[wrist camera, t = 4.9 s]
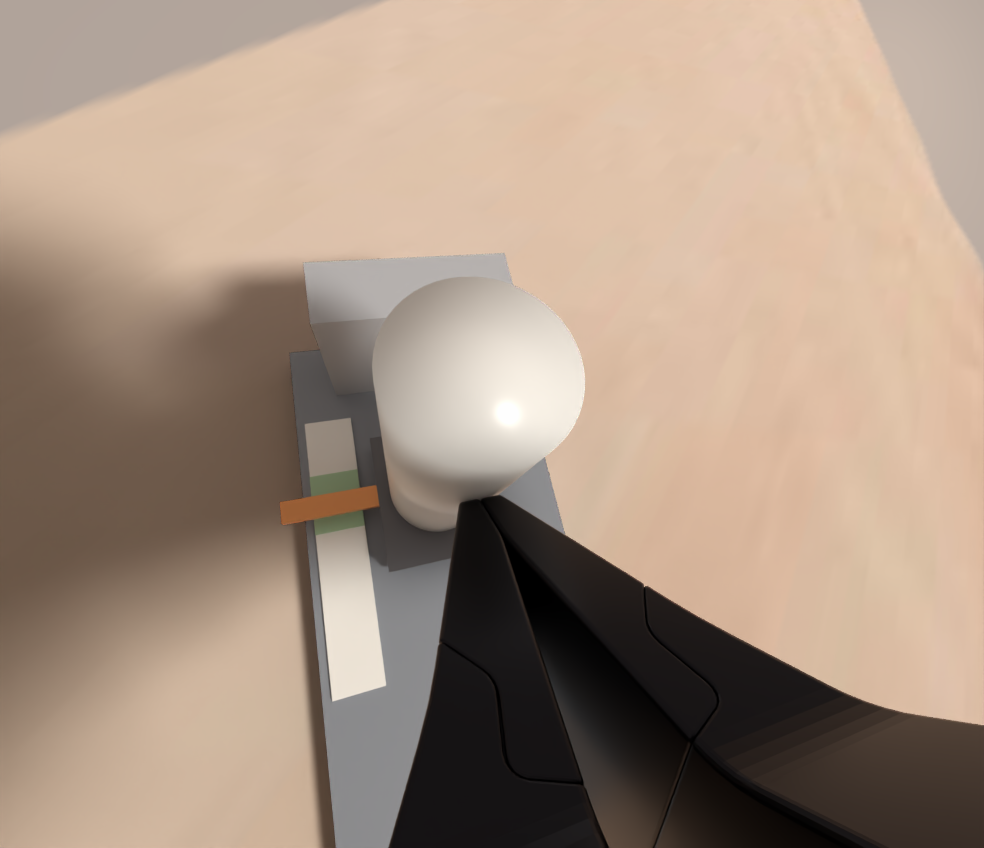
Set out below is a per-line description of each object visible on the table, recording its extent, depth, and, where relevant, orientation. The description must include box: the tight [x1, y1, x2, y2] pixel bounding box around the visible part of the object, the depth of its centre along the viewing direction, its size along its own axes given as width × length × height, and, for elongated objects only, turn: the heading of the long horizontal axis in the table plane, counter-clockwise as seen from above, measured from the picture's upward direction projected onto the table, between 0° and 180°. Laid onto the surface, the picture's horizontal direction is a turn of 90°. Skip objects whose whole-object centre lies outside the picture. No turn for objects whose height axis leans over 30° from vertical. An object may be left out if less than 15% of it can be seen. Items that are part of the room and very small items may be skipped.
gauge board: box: [290, 253, 565, 848], centre depth 13 cm, size 18×9×6 cm, turn 13°
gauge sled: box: [280, 277, 585, 573], centre depth 10 cm, size 4×7×10 cm, turn 103°
